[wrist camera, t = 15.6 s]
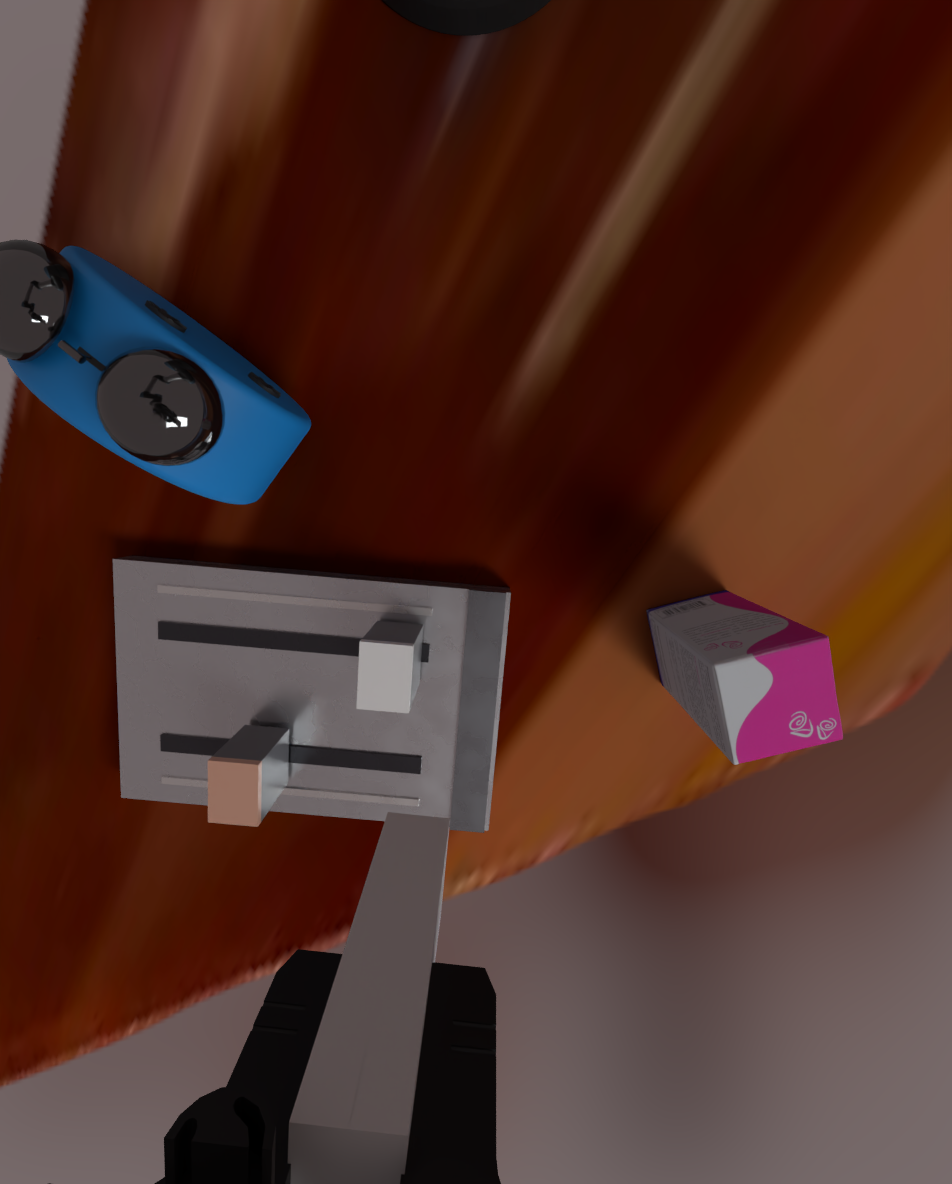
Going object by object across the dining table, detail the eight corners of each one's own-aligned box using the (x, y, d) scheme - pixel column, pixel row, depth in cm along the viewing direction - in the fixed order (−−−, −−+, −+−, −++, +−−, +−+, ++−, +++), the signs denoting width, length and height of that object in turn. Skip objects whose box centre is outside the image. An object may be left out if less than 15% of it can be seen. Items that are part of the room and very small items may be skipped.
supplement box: (661, 688, 39) (731, 768, 28) (644, 608, 38) (709, 658, 27) (744, 669, 39) (848, 742, 28) (728, 587, 38) (830, 629, 27)
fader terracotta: (245, 724, 38) (207, 760, 33) (289, 728, 38) (258, 764, 33) (244, 779, 39) (207, 822, 34) (287, 782, 39) (257, 826, 34)
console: (132, 555, 38) (109, 559, 36) (509, 587, 38) (511, 593, 36) (138, 783, 41) (118, 799, 39) (488, 814, 41) (488, 832, 39)
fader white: (377, 620, 36) (359, 641, 31) (423, 624, 36) (412, 646, 31) (374, 679, 37) (356, 708, 32) (419, 683, 37) (408, 713, 32)
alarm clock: (124, 377, 36) (-126, 300, 22) (176, 297, 35) (-48, 159, 21) (288, 505, 38) (157, 515, 23) (342, 431, 37) (242, 391, 22)
